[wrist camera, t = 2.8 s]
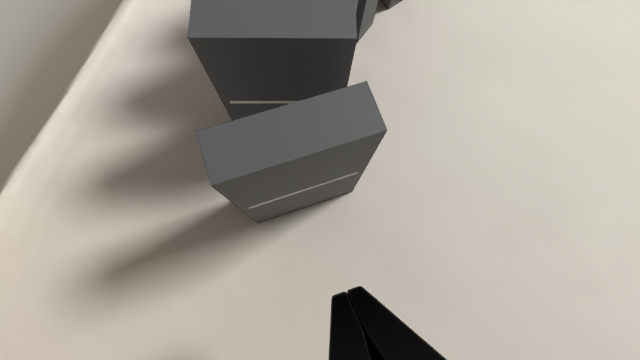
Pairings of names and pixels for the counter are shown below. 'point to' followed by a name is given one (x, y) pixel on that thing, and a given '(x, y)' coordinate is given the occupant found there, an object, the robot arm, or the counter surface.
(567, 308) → the counter surface
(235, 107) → the domino
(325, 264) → the counter surface
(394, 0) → the domino
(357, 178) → the domino
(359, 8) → the domino
